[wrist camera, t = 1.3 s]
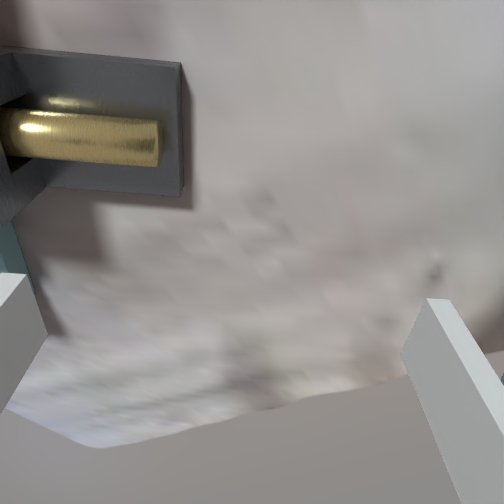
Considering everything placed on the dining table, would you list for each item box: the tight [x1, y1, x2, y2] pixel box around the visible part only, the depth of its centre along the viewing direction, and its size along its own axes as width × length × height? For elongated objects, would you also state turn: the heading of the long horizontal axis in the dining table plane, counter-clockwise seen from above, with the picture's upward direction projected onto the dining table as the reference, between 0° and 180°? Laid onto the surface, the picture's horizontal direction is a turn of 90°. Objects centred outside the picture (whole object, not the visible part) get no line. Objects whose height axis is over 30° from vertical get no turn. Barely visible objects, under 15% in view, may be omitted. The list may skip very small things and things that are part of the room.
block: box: [0, 46, 184, 228], centre depth 24 cm, size 19×9×8 cm, turn 85°
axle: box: [0, 107, 163, 168], centre depth 24 cm, size 18×3×3 cm, turn 85°
